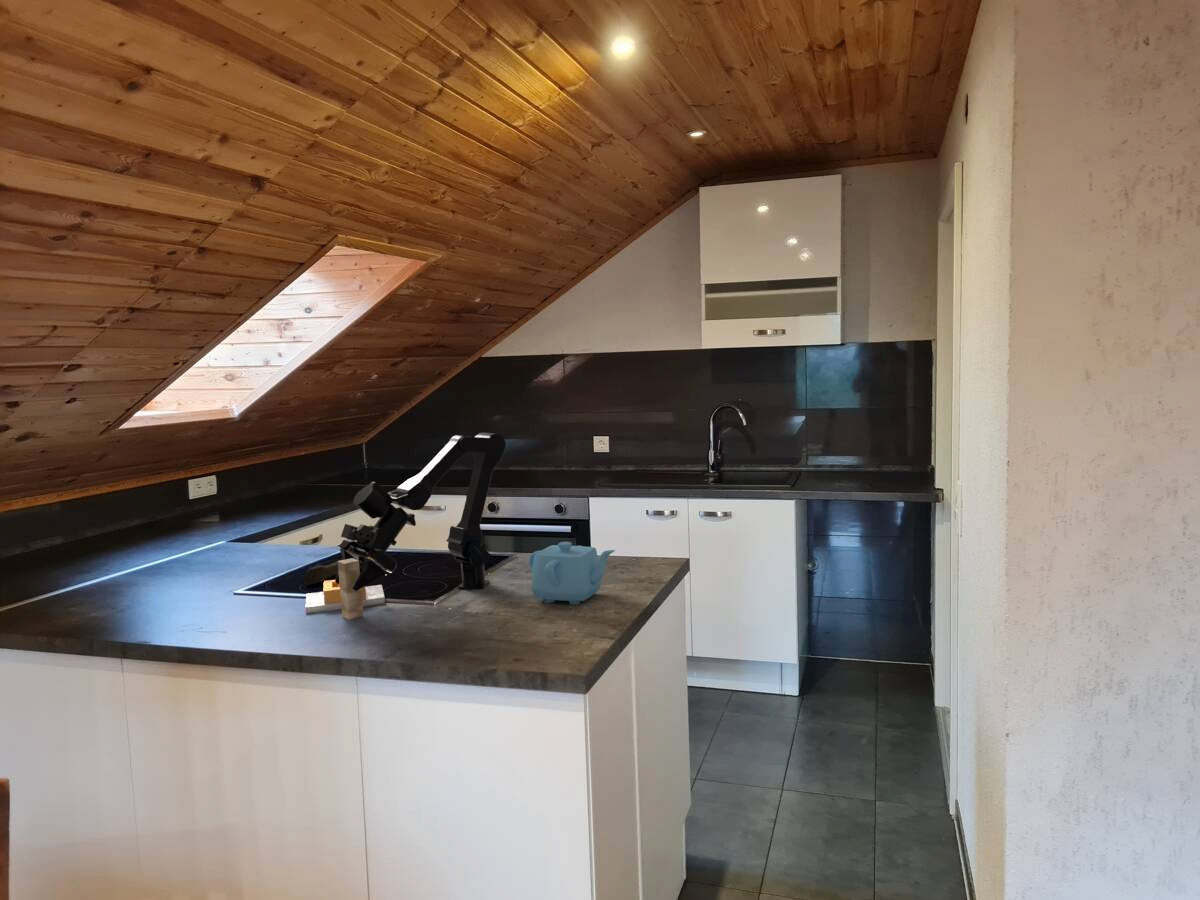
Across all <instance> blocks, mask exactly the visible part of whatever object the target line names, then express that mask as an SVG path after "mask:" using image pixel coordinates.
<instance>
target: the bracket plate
mask: <svg viewBox="0 0 1200 900" xmlns="http://www.w3.org/2000/svg"><path fill="white" fill-rule="evenodd" d="M322 590H323V591H318V592H311V593H309V592H308V593H306V595H305V597H306V598H305V614H313V613H322V612H328V611H336V610H342V607H341V595H340V583H339V584H338V583H336V582H335V579H330V580H329V579H328V580H325V581H324V582H323V589H322ZM361 594H362V606H363V607H369V606H370V607H371V606H376V605H377V606H378V605H385V604H386V599H385V592H384V589H383V585H382V584H377V585H370V586H369V585H368V586H367V585H366V586H364V587H362V588H361Z"/></svg>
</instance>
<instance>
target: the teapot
mask: <svg viewBox="0 0 1200 900" xmlns="http://www.w3.org/2000/svg"><path fill="white" fill-rule="evenodd" d="M572 544H573V543H572V542H571V541H562V542H559V543H557V544H556V545H555V544H554V545H549V546H548V547H547V546H546V547H545V548H544V549H542V550H537V551H536V550H535V551H534V552H533V553H532V554H531V555H530V556H529V560H528V561H529V566H530V568H531V569H532V570H531V571H532V572H531V590H532V594H533V596H534V598H536V599H543V600H544V601H543V603H545V604H552V603H555V602H556V601H563V602H564V601H567V602H568V604H569V605H572V606H576V605H580V604H581V602H584V601H586V600H587V599H589V598H591V597H592V596H593V595H595V594H596V593H597V592H598V591H599V590H600V588H601V586H602V585H601V584H602V583H601V582H602V579H603V577H604V576H605V572H606V568H607V560H608V557H609V556H611V554H612V553H614V552H616V549H610V550H604V551H602V552H601V554H600V556H599V557H598V552H597V549H596V547H595V546H593V547H592V546H583V545H572Z"/></svg>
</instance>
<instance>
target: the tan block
mask: <svg viewBox="0 0 1200 900" xmlns="http://www.w3.org/2000/svg"><path fill="white" fill-rule="evenodd" d="M340 560H341V561H339V560H337V561H338V571H339V583H340V595H341V607H342V609H341V616H342V618H344V619H346V620H353V619H357V618H361V617H364V609H363V608H364V606H362V594H361V589H359V590H357V591H355V590H353V586H354V584H355V582H356V580H357V579H358V577H359V575H360V574H361V571H360V567H359V562H360V561H358V560H356V559H353V558H351V559H346V560H342V559H340Z"/></svg>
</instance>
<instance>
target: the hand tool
mask: <svg viewBox="0 0 1200 900" xmlns="http://www.w3.org/2000/svg"><path fill="white" fill-rule="evenodd" d="M341 560H342V559H340V560H337V561H334V562H333V563H330V564H327V565H321V564H320V565H315V566H312V567H309V568H307V571H306V575H305V585H306V586H307V585H309V586H312V585H311V584H314V583H318V582H321V583H323V582H322V581H326V580H327V579H329V578H332V577H334V576H337V573H338V561H341ZM318 584H319V583H318ZM314 585H315V584H314Z"/></svg>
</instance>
